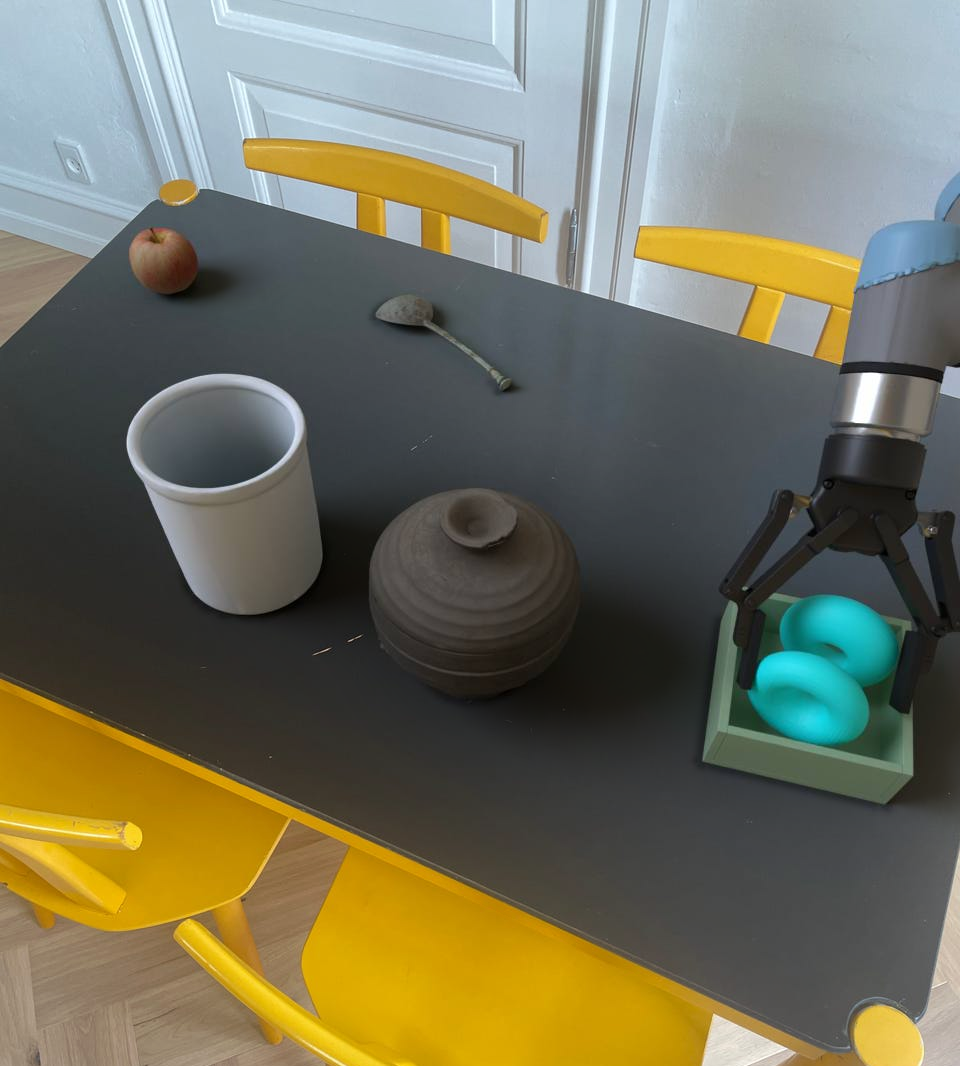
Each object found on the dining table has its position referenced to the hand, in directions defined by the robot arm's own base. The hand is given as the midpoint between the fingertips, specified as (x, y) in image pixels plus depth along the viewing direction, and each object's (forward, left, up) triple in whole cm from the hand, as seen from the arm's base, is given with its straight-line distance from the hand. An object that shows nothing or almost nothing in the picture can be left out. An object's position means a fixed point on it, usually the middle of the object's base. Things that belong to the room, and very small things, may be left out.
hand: (820, 698), depth 74 cm
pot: (+30, -1, -6) cm, 31 cm away
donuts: (0, -2, -5) cm, 5 cm away
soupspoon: (+45, -43, -6) cm, 62 cm away
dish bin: (0, -3, -6) cm, 6 cm away
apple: (+82, -45, -6) cm, 94 cm away
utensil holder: (+54, -6, -6) cm, 55 cm away
